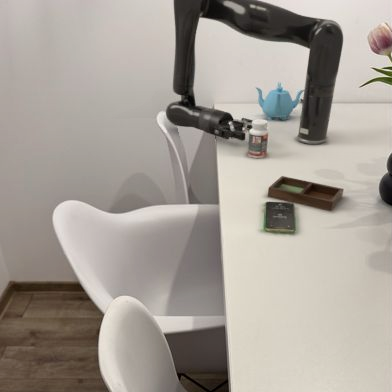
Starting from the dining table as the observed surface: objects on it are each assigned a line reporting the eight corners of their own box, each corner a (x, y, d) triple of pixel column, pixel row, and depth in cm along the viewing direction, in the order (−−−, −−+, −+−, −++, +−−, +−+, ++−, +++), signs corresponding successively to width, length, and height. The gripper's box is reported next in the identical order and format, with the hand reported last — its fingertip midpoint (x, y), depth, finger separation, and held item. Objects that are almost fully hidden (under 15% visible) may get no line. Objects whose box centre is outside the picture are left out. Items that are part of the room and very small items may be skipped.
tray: (280, 184, 134) (281, 175, 133) (341, 198, 128) (343, 188, 126) (267, 196, 128) (268, 187, 127) (331, 211, 122) (332, 201, 120)
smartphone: (263, 228, 113) (264, 200, 124) (263, 232, 113) (264, 204, 125) (296, 230, 112) (294, 202, 123) (295, 233, 113) (294, 205, 124)
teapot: (252, 116, 182) (254, 86, 176) (278, 110, 188) (280, 81, 181) (276, 124, 174) (279, 93, 168) (302, 117, 180) (305, 87, 174)
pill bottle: (265, 159, 149) (268, 125, 142) (246, 157, 150) (249, 123, 143) (266, 152, 153) (269, 119, 146) (249, 151, 154) (251, 118, 147)
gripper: (200, 114, 151) (239, 126, 142) (230, 105, 158) (269, 115, 150) (200, 139, 156) (237, 152, 147) (229, 129, 163) (267, 140, 155)
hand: (253, 133), depth 148 cm, fingers open, 8 cm apart
